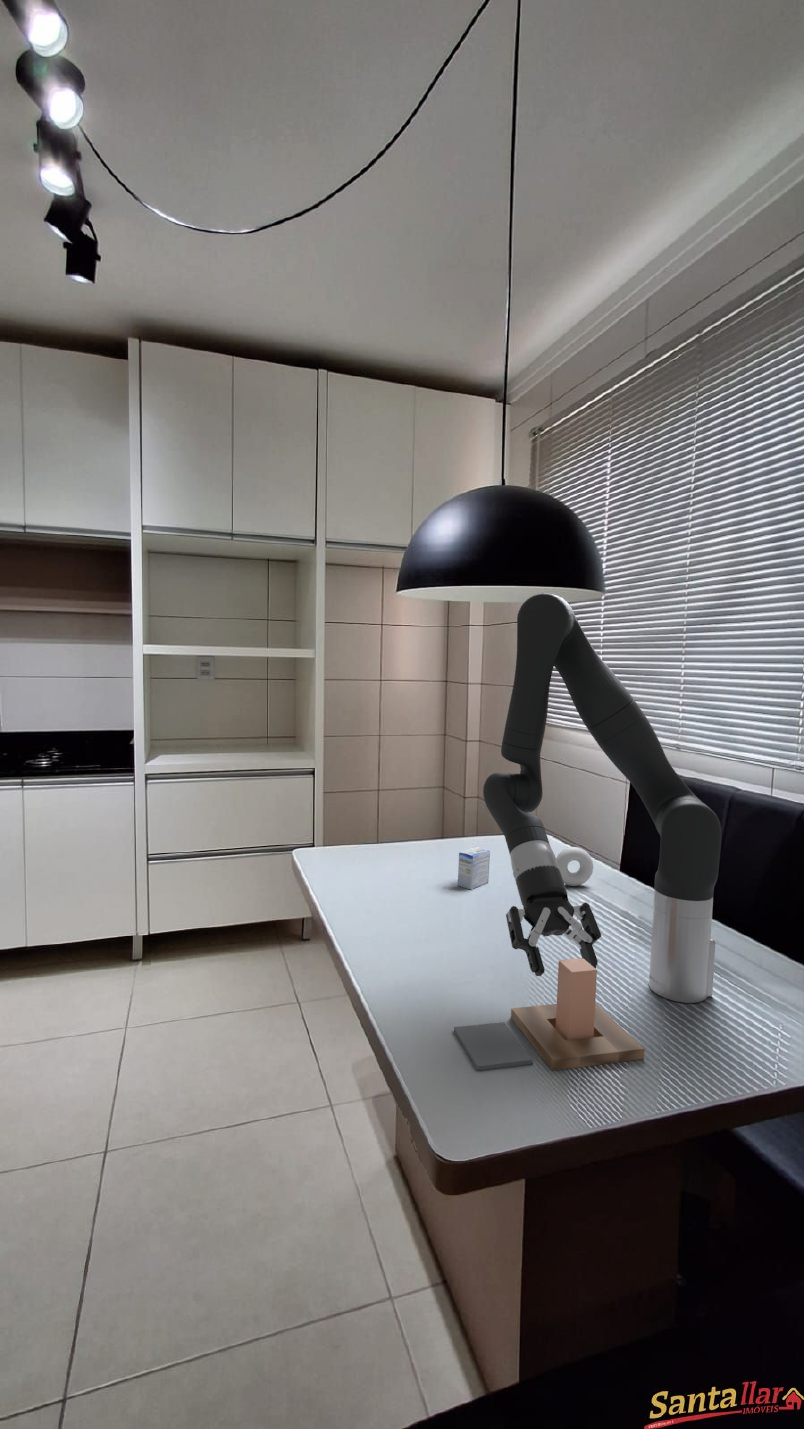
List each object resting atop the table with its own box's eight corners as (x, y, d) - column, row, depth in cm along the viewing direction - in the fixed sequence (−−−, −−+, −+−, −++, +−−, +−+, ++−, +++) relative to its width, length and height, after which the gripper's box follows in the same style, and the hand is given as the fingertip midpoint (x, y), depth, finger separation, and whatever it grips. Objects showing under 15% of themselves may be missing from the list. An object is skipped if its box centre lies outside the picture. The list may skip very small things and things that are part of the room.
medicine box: (474, 879, 173) (475, 846, 173) (489, 882, 170) (490, 849, 170) (457, 886, 167) (458, 852, 167) (472, 890, 164) (473, 855, 164)
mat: (503, 1025, 101) (504, 1021, 101) (532, 1063, 92) (532, 1059, 91) (453, 1031, 99) (453, 1027, 99) (477, 1070, 90) (477, 1066, 90)
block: (579, 1029, 101) (583, 958, 100) (593, 1043, 97) (597, 969, 96) (555, 1031, 100) (558, 960, 99) (568, 1046, 96) (571, 971, 95)
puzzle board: (592, 1009, 107) (592, 1000, 107) (643, 1058, 93) (644, 1048, 93) (510, 1017, 104) (511, 1008, 103) (552, 1070, 90) (553, 1059, 90)
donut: (590, 884, 172) (591, 845, 171) (594, 888, 168) (596, 849, 168) (551, 883, 172) (553, 844, 171) (555, 887, 168) (556, 848, 167)
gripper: (504, 865, 107) (531, 966, 96) (584, 862, 110) (619, 959, 100) (490, 887, 112) (514, 985, 102) (567, 883, 116) (598, 978, 105)
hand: (566, 972), depth 101 cm, fingers open, 8 cm apart
